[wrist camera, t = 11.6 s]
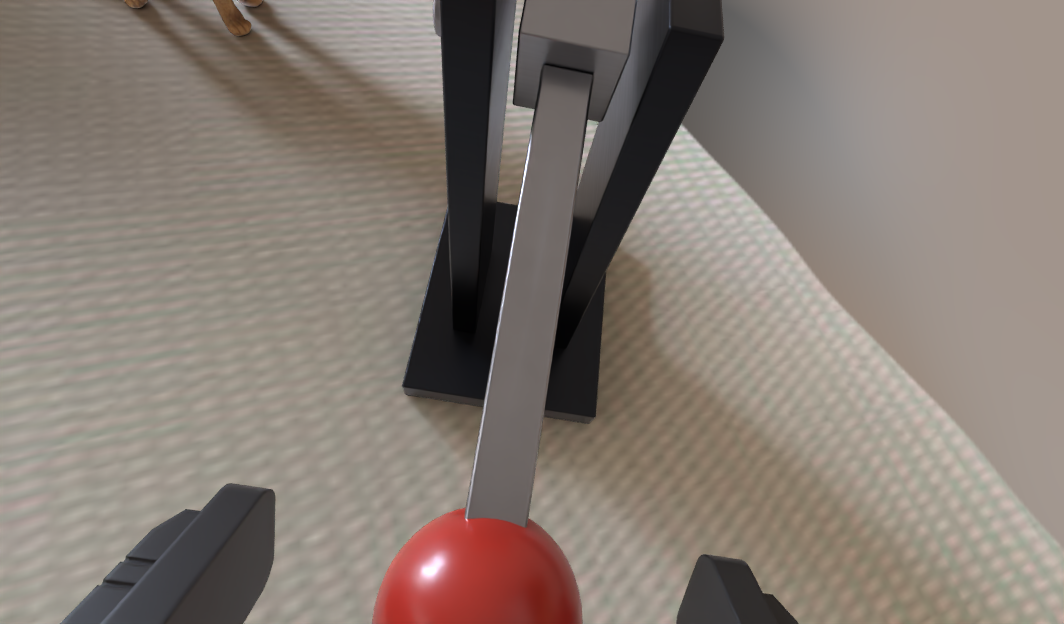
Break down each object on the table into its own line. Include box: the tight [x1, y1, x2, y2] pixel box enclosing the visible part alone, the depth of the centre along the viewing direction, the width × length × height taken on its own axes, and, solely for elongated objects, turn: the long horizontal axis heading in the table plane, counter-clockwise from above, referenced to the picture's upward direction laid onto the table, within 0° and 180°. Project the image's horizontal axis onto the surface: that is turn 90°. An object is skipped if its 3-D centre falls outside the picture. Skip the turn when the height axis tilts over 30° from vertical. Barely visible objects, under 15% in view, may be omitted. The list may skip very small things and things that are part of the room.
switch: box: [372, 0, 637, 624], centre depth 10 cm, size 15×4×4 cm, turn 173°
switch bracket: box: [402, 0, 724, 424], centre depth 16 cm, size 10×8×16 cm
